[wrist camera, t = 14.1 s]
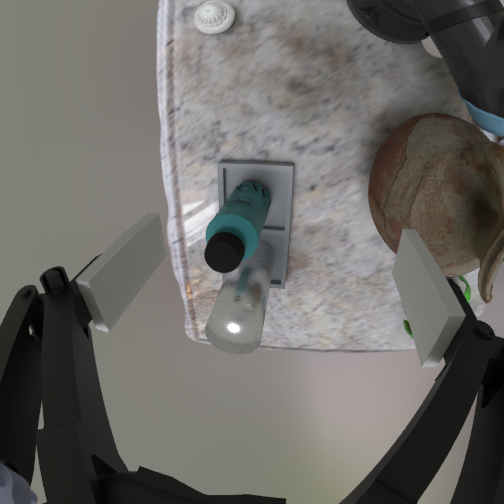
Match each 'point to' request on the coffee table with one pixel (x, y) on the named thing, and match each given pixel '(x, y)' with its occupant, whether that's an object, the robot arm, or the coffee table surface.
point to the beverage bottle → (237, 227)
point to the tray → (278, 221)
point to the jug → (443, 194)
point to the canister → (242, 304)
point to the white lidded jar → (214, 17)
